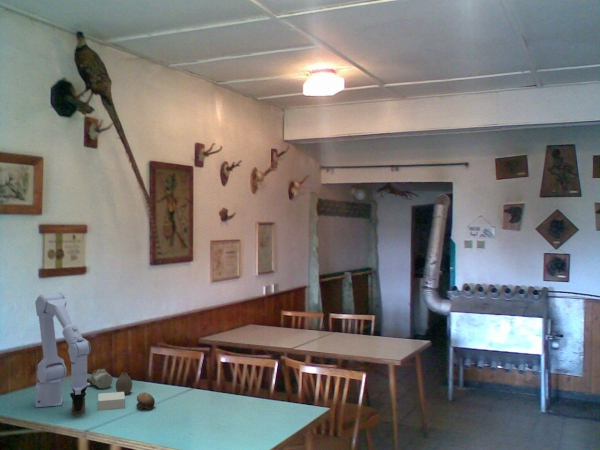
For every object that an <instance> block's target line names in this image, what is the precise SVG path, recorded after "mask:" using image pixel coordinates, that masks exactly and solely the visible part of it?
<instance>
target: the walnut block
mask: <svg viewBox="0 0 600 450" xmlns="http://www.w3.org/2000/svg"><path fill="white" fill-rule="evenodd" d="M71 406H72V407H71V415H72V416H77V415H79V416H80V415H85V413H86V397H84V400H83V404H82V409H81V411H77V412H75V409H74V403H73V400H72V401H71Z"/></svg>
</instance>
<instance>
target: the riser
mask: <svg viewBox="0 0 600 450" xmlns="http://www.w3.org/2000/svg"><path fill="white" fill-rule="evenodd" d="M97 400H98V401H97V402H98V404H97V405H98V406H97V410H98V411H104V410H105V411H106V410H117V409H126V395H124V392H117V391H115V392H114V391H113V392H105V393H98V399H97Z"/></svg>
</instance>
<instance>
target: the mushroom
mask: <svg viewBox="0 0 600 450" xmlns="http://www.w3.org/2000/svg"><path fill="white" fill-rule="evenodd" d="M136 401H137V403H136V404H135V406H136V408H137V409H143V408H144V409H147V410H152V409H153V408H154V406H155V398H154V397H153V396H152V395H151V394H150V393H149V392H141V393H139V394H138V395H136Z"/></svg>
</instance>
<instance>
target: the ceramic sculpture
mask: <svg viewBox="0 0 600 450" xmlns="http://www.w3.org/2000/svg"><path fill="white" fill-rule="evenodd" d="M113 379H114V378H113V377H112V375H111V374H109V373H108V371H107V370H106V368H103V367H99V368H98V369H96V370H93V372H92V374H91V376H90V377H89V378H88V377H87V383H90V385H93V386H96V387H97V388H99V389H102V390H103V389H104V390H106V389H107V388H110V387H111V386H112V384H113V381H114V380H113Z"/></svg>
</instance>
